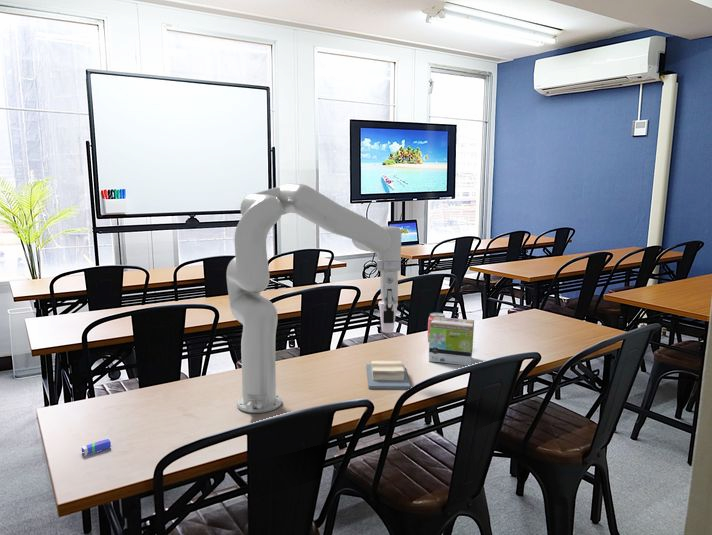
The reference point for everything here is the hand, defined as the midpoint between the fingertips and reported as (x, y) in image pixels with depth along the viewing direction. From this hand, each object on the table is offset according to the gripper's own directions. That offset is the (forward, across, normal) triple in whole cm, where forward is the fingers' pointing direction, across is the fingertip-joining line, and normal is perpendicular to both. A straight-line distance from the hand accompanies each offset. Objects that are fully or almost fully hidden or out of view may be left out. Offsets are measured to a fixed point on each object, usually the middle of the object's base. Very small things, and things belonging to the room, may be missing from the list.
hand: (387, 319), depth 175 cm
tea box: (+20, +18, -25) cm, 37 cm away
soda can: (+20, +38, -23) cm, 49 cm away
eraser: (+20, -49, +73) cm, 90 cm away
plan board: (+20, 0, 0) cm, 20 cm away
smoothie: (+4, 0, 0) cm, 4 cm away
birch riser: (+20, 0, 0) cm, 20 cm away
